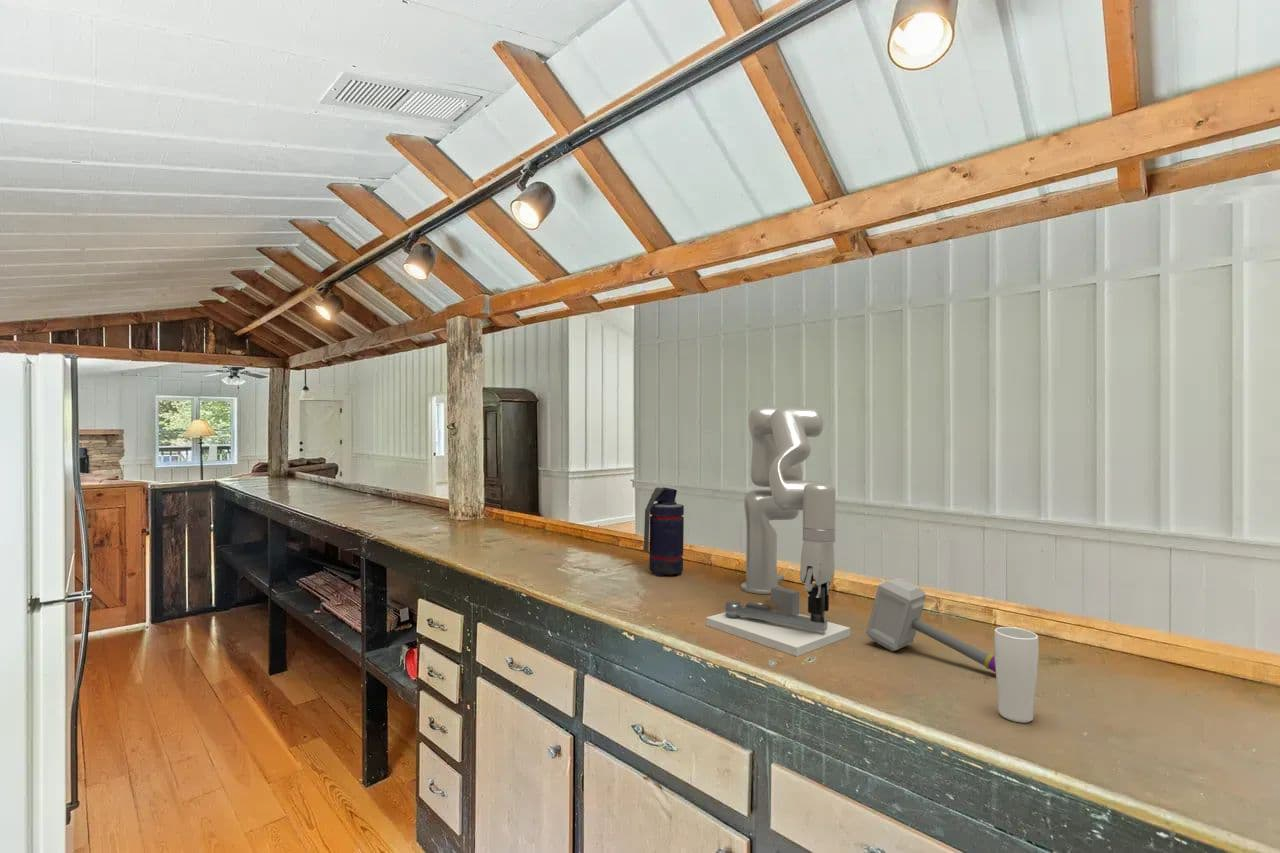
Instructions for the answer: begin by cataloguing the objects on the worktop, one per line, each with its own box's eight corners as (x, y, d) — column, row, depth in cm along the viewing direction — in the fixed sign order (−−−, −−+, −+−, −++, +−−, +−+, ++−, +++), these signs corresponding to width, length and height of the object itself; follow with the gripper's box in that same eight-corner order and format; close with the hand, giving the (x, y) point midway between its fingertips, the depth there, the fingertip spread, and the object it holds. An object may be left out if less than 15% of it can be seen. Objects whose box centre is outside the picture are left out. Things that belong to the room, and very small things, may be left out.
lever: (722, 615, 159) (723, 574, 159) (731, 610, 164) (731, 571, 164) (823, 634, 145) (823, 590, 145) (829, 628, 149) (830, 585, 149)
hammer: (1033, 637, 126) (896, 574, 148) (1019, 646, 121) (880, 579, 143) (1012, 703, 129) (880, 631, 151) (998, 713, 124) (864, 638, 146)
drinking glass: (985, 708, 113) (985, 626, 113) (1020, 707, 113) (1020, 626, 113) (1010, 726, 106) (1011, 639, 106) (1047, 725, 106) (1048, 638, 106)
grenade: (675, 568, 224) (676, 486, 224) (688, 576, 212) (689, 489, 212) (639, 570, 219) (640, 486, 220) (650, 578, 208) (651, 490, 208)
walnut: (758, 614, 160) (758, 599, 160) (767, 612, 163) (768, 596, 163) (770, 618, 157) (770, 602, 157) (780, 615, 160) (780, 600, 160)
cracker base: (705, 625, 159) (706, 594, 159) (760, 609, 173) (760, 581, 173) (796, 656, 138) (797, 620, 138) (850, 636, 152) (850, 603, 152)
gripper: (818, 529, 157) (817, 602, 156) (788, 537, 144) (788, 616, 144) (847, 533, 152) (846, 607, 152) (819, 541, 139) (819, 622, 139)
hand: (818, 611), depth 148 cm, fingers closed on lever, 3 cm apart
